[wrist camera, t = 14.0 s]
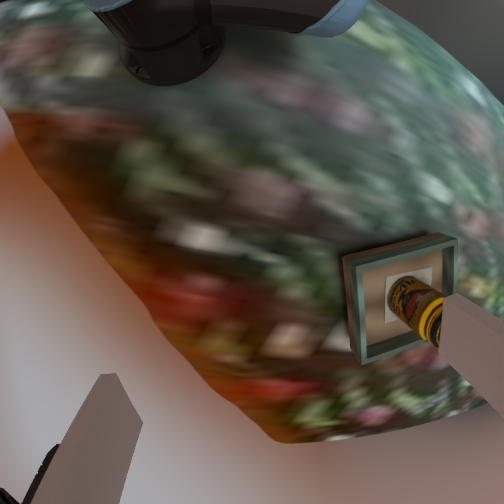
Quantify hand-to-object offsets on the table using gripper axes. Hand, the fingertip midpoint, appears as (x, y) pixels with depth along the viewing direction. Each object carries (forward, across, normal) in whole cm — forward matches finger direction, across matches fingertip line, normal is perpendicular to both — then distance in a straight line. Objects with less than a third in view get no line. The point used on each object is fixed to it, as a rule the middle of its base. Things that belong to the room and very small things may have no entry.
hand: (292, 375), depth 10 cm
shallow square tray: (+32, +20, -13) cm, 40 cm away
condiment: (+27, +21, -13) cm, 37 cm away
